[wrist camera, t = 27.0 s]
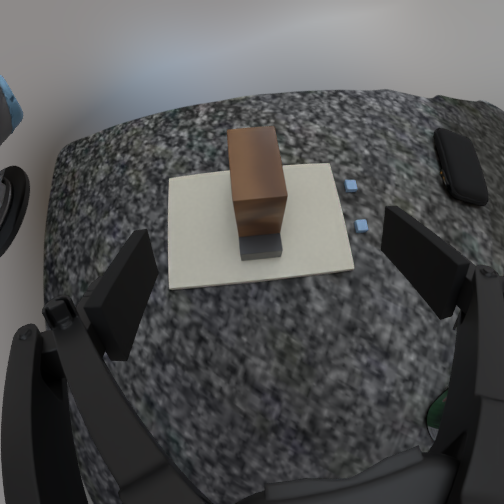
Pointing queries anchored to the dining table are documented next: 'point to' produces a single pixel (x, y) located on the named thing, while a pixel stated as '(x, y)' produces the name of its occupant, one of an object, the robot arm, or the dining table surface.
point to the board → (226, 235)
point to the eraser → (257, 191)
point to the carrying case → (460, 167)
